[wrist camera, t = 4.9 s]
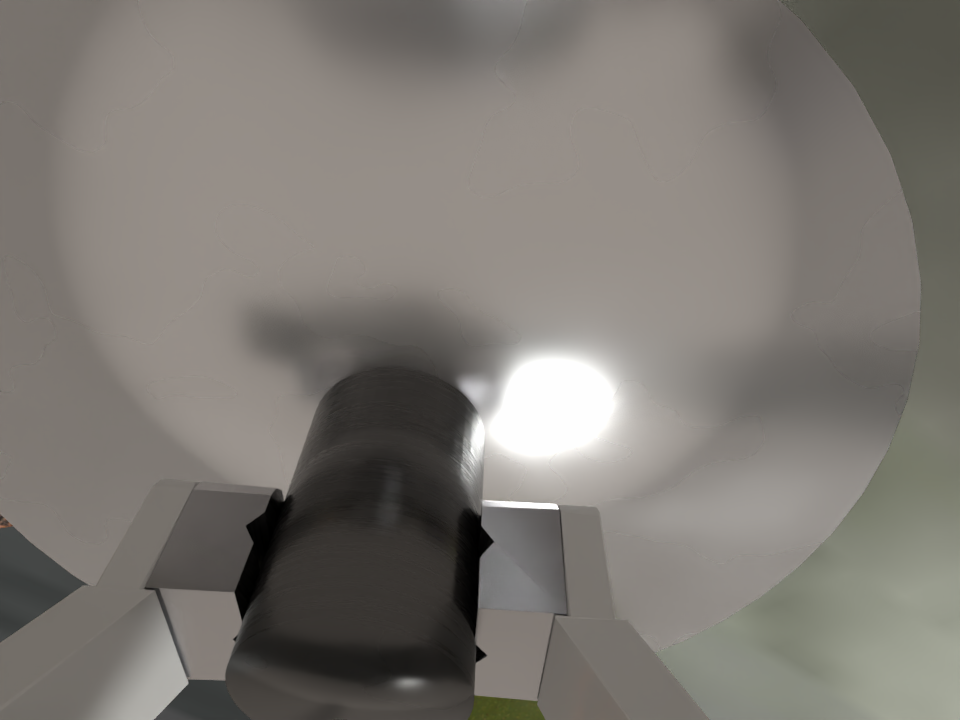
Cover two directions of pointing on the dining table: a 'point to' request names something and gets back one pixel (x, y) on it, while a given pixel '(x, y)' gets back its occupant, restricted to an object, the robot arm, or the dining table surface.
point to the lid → (444, 305)
